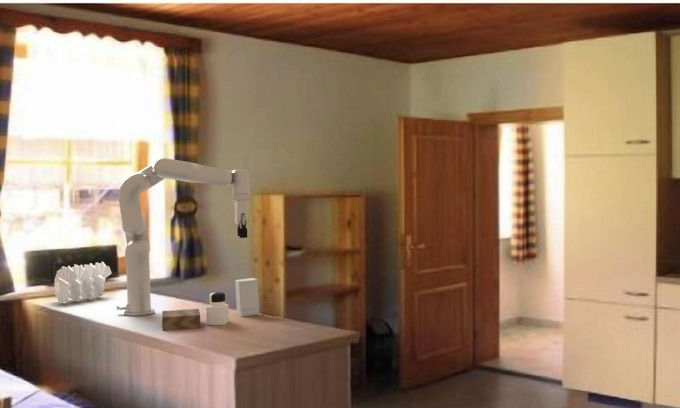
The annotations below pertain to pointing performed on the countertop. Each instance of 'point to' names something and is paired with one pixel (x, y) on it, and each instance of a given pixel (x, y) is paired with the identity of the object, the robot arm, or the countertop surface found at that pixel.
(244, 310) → the skincare box
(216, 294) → the medicine bottle
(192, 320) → the walnut riser
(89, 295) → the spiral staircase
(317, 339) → the countertop surface
